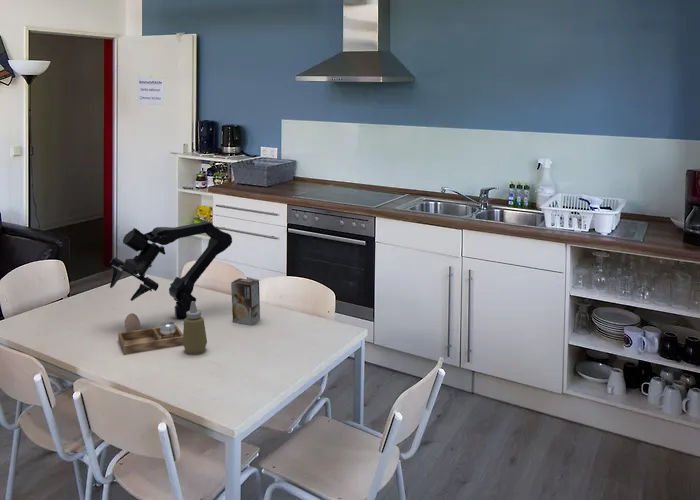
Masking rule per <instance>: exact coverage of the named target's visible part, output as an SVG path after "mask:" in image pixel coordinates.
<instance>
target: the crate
mask: <svg viewBox="0 0 700 500" xmlns="http://www.w3.org/2000/svg"><path fill="white" fill-rule="evenodd" d="M175 331H176V337H175V338H168V339H162V340H161V334H160V326H156V327H151V328H143V329H138V330H136V331H129V332H128V331H124V332H118V333H117V337H118V339H117V341H118V343H119V345H120V348H121V350H122V353H123V354H124V356H125V355H132V354H137V353H144V352H149V351H155V350H161V349H169V348H173V347H180V346H184V345H183V333H182V331H181V330H180V329H179V327H178V325H177V324H175Z"/></svg>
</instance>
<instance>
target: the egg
mask: <svg viewBox="0 0 700 500" xmlns="http://www.w3.org/2000/svg"><path fill="white" fill-rule="evenodd" d="M140 326H141V321H140V319H139V316H138V315H137V314H135V313H133V312H132V313H129V314H127V316H126V317H125V320H124V328H125V330H126V332H129V331H136V330H140Z"/></svg>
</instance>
